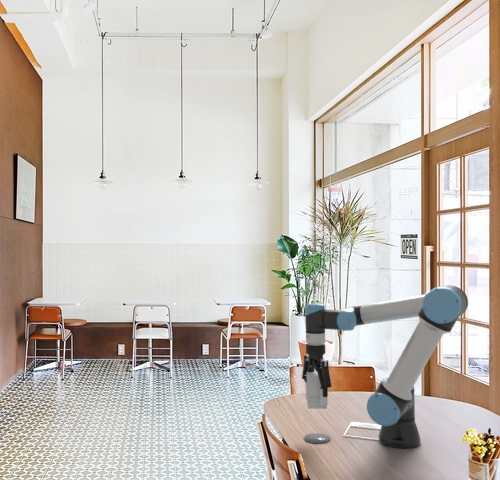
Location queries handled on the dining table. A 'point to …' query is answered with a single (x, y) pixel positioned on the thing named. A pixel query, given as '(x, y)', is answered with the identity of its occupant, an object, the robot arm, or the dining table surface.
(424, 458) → the dining table surface
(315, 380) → the supplement box
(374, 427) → the photo frame
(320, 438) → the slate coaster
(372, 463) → the dining table surface
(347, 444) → the dining table surface
